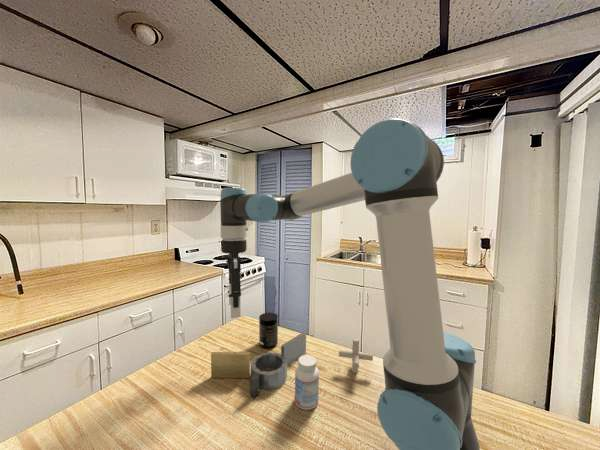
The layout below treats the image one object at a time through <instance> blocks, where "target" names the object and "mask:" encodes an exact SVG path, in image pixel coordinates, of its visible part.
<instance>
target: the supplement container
mask: <svg viewBox="0 0 600 450" xmlns="http://www.w3.org/2000/svg"><path fill="white" fill-rule="evenodd" d="M258 322H259V323H258V326H259V327H258V331H259V333H258V341H259V342H258V344H259V346H260V348H262V349H266V350H267V349H268V350H270V349H274V348H275V347H276V346H277V345H278V342H279V341H278V340H279V339H278V338H279V336H278V332H279V326H278V325H279V324H278V323H279V315H278V314H277V313H274V312H263V313H262V314H260V315H259V317H258Z"/></svg>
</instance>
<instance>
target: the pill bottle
mask: <svg viewBox="0 0 600 450" xmlns="http://www.w3.org/2000/svg"><path fill="white" fill-rule="evenodd" d="M297 360H298V361H297V365H298V366H297V367H296V369H295V371H294V372H295V373H294V375H295V376H294V377H295V378H294V402H295V405H296V406H297V407H298V408H299V409H301V410H306V411H310V410H312V409H314V408H316V407H317V406H318V404H319V394H320V393H319V391H320V389H319V387H320V386H319V385H320V371H319V369H318V367H317V359H316V358H315V357H314V356H313V355H311V354H303V355H302V356H301V357H299V358H298V359H297Z"/></svg>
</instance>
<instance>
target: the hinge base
mask: <svg viewBox="0 0 600 450" xmlns="http://www.w3.org/2000/svg"><path fill="white" fill-rule="evenodd" d="M280 347H281V348H280V351H281V352H280V353H278V352H271V351H269V352H263V353H260V354H258V355H256V356H255V357H254V358H253V360H252V361H250V377H249V396H250V398H251V399H252V400H256V398H258V397H259V396H260V395H259V394H260V393H259V392H260V391H259V390H261V391H272V390H276V389H279V388H280V387H282V386H283V385H284V384H285V383H286V381H287V378H288V367H289V366H290V365H291V364H292V363H294V362H295V361H297V360H299V358H300V357H301V356H303V355H306V353H307V333H306V332H305V331H303V332H301V333H299V334H298V335H296V336H294V337H293V338H291V339H290V340H288V341H286V342H284V343H283V344H282V345H280ZM268 369H270V370H272V371H265V370H268Z"/></svg>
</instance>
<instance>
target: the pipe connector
mask: <svg viewBox="0 0 600 450" xmlns="http://www.w3.org/2000/svg"><path fill="white" fill-rule="evenodd" d="M351 346H352V347H351V348H352V349H351V350H343V349H339V350H338V357H339V358H348V359H352V360H351V361H352V362H351V366H352V367H351V372H352V373H354V374H357V373H359V367H360V360H362V361H363V360H364V361H371V362H373V360H374V359H373V356H374V355H373V353H366V352H359V351H360V349H359V348H360V347H359V346H360V339H359V338H357V337H354V338H352V345H351Z"/></svg>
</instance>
